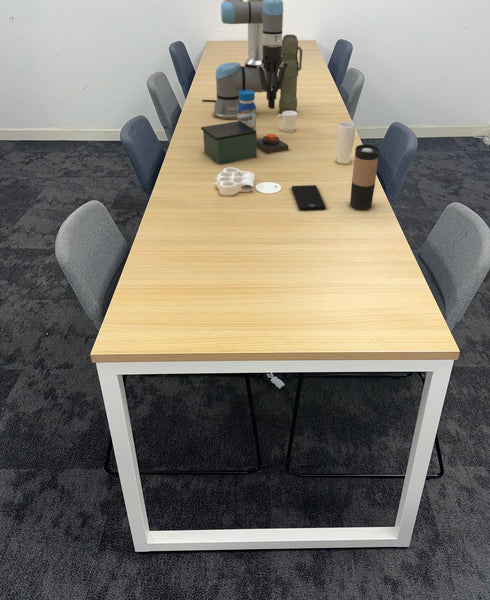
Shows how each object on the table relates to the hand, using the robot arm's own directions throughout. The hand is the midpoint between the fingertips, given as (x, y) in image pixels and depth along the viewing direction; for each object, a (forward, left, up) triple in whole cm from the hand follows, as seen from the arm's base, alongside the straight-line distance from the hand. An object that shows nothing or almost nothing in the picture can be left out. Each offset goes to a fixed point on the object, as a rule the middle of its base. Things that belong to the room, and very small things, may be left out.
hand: (271, 107), depth 223 cm
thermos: (-40, +32, -17) cm, 54 cm away
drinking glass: (+28, +18, -17) cm, 37 cm away
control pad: (0, 0, -16) cm, 16 cm away
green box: (0, -19, -17) cm, 25 cm away
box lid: (0, -20, -7) cm, 21 cm away
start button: (0, 0, -13) cm, 13 cm away
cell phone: (+51, -13, -17) cm, 55 cm away
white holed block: (+29, -31, -17) cm, 46 cm away
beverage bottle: (-14, -4, -17) cm, 22 cm away
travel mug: (+64, 0, -17) cm, 66 cm away
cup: (-16, +17, -17) cm, 29 cm away
